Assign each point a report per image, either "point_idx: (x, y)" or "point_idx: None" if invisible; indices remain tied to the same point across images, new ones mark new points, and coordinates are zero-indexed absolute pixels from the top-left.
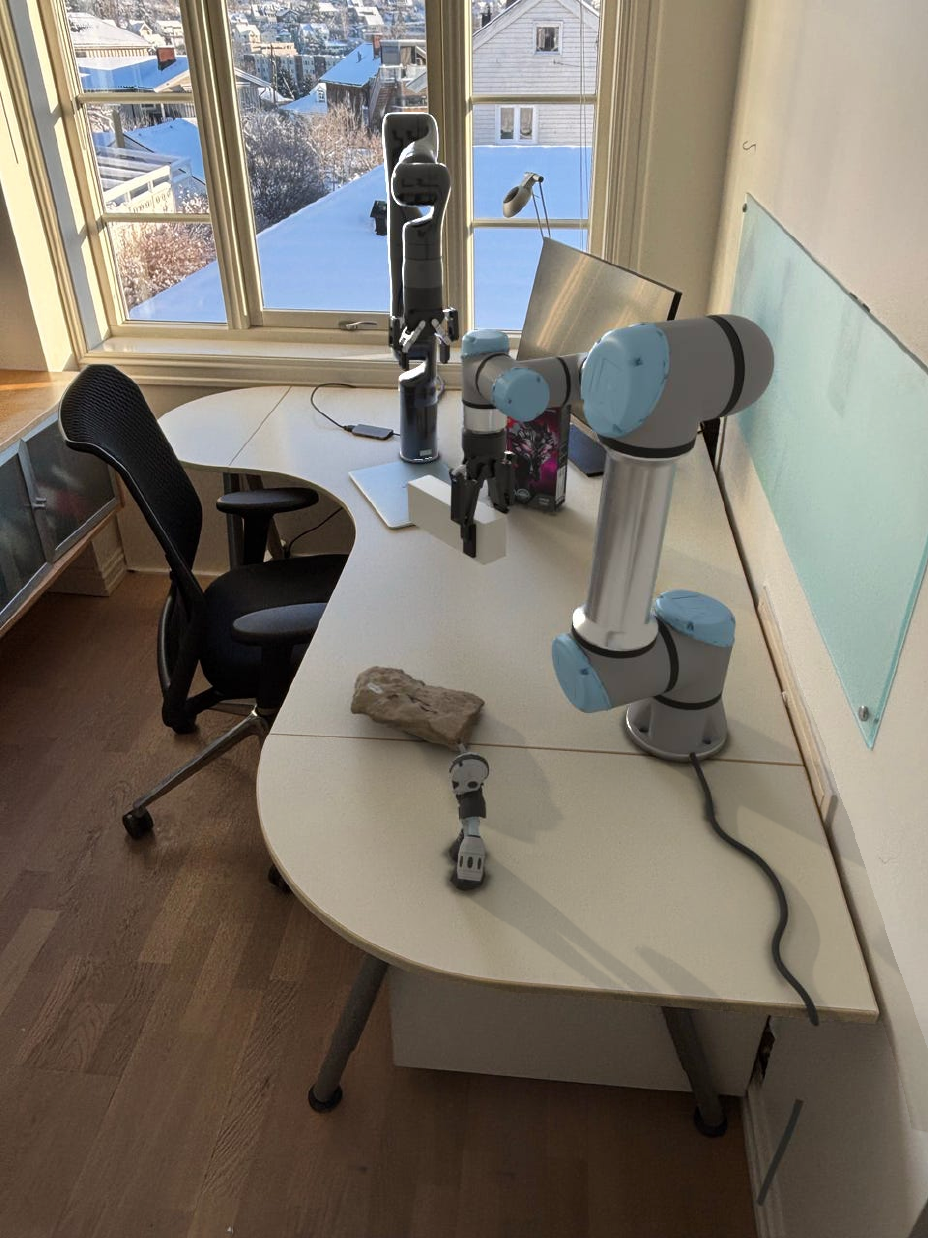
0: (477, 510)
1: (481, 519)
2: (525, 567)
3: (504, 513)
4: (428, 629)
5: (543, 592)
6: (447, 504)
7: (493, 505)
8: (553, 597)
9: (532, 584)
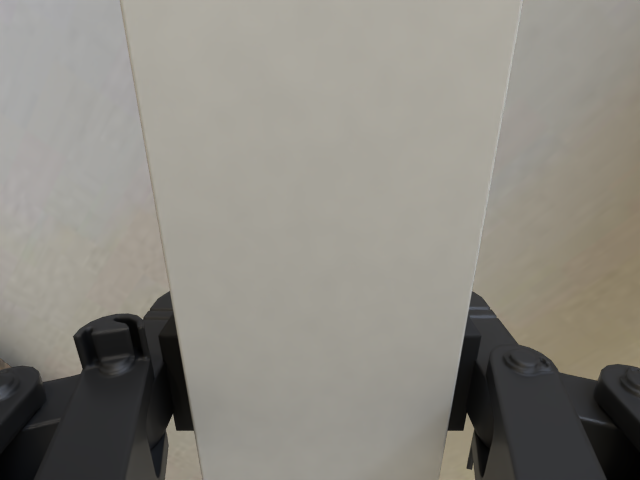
0: (313, 363)
1: (237, 475)
2: (579, 101)
3: (469, 455)
4: (139, 180)
5: (493, 235)
6: (129, 51)
7: (490, 383)
8: (491, 266)
9: (508, 188)
